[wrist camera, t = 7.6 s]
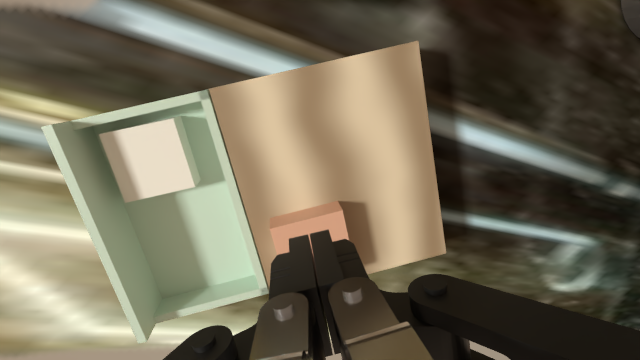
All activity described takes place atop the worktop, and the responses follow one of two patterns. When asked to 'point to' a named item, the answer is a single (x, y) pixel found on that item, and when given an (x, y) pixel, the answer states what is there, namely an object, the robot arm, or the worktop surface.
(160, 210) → the box
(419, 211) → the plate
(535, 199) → the worktop surface
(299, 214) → the terracotta tile
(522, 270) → the worktop surface
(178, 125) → the white tile
